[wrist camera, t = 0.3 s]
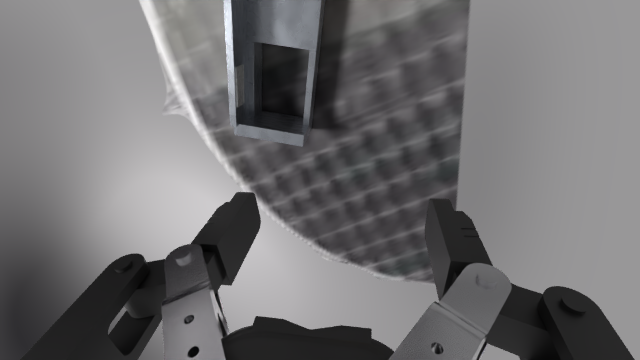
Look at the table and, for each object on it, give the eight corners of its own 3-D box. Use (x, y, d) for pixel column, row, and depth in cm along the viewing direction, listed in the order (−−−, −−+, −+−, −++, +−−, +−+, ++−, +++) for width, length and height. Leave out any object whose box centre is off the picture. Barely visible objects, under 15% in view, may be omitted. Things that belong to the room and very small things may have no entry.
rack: (248, -123, 27) (214, -159, 22) (337, -113, 27) (327, -148, 21) (251, 119, 40) (231, 137, 34) (311, 129, 40) (301, 149, 34)
